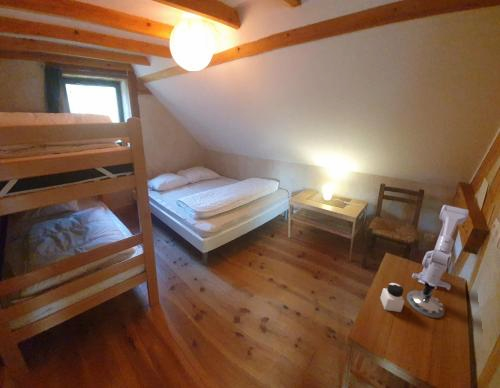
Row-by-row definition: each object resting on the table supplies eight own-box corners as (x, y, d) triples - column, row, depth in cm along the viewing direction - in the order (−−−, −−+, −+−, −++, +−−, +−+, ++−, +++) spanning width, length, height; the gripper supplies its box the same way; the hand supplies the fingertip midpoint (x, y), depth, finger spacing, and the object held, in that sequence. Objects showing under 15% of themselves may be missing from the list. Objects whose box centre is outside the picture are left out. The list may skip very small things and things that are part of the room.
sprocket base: (408, 287, 122) (409, 285, 121) (444, 302, 113) (445, 300, 112) (404, 306, 111) (404, 304, 110) (443, 324, 102) (444, 322, 102)
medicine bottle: (401, 312, 108) (407, 293, 103) (384, 310, 109) (390, 291, 104) (395, 300, 114) (401, 282, 109) (379, 298, 116) (385, 280, 111)
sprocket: (414, 287, 120) (417, 280, 118) (445, 303, 110) (449, 296, 108) (405, 300, 112) (408, 293, 110) (437, 319, 103) (441, 311, 101)
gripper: (416, 272, 108) (408, 293, 114) (455, 284, 102) (445, 305, 107) (415, 263, 114) (408, 283, 119) (452, 274, 107) (442, 295, 113)
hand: (425, 293), depth 114 cm, fingers closed, pressing on sprocket
